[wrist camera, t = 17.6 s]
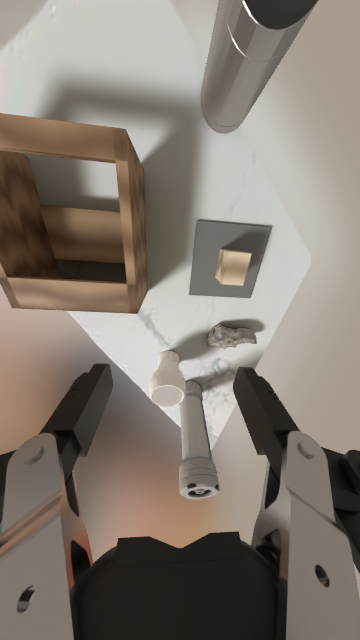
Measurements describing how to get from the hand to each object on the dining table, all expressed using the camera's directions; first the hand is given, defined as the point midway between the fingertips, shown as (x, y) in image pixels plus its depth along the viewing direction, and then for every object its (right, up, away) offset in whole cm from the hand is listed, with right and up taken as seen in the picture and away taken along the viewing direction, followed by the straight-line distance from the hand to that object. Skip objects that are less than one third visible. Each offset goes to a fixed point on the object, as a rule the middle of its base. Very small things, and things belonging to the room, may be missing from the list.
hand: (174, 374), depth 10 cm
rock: (+16, -1, +43) cm, 46 cm away
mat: (+13, +18, +32) cm, 39 cm away
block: (+13, +18, +31) cm, 38 cm away
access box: (-20, +23, +27) cm, 41 cm away
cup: (-4, -11, +47) cm, 48 cm away
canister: (+4, -25, +55) cm, 61 cm away
